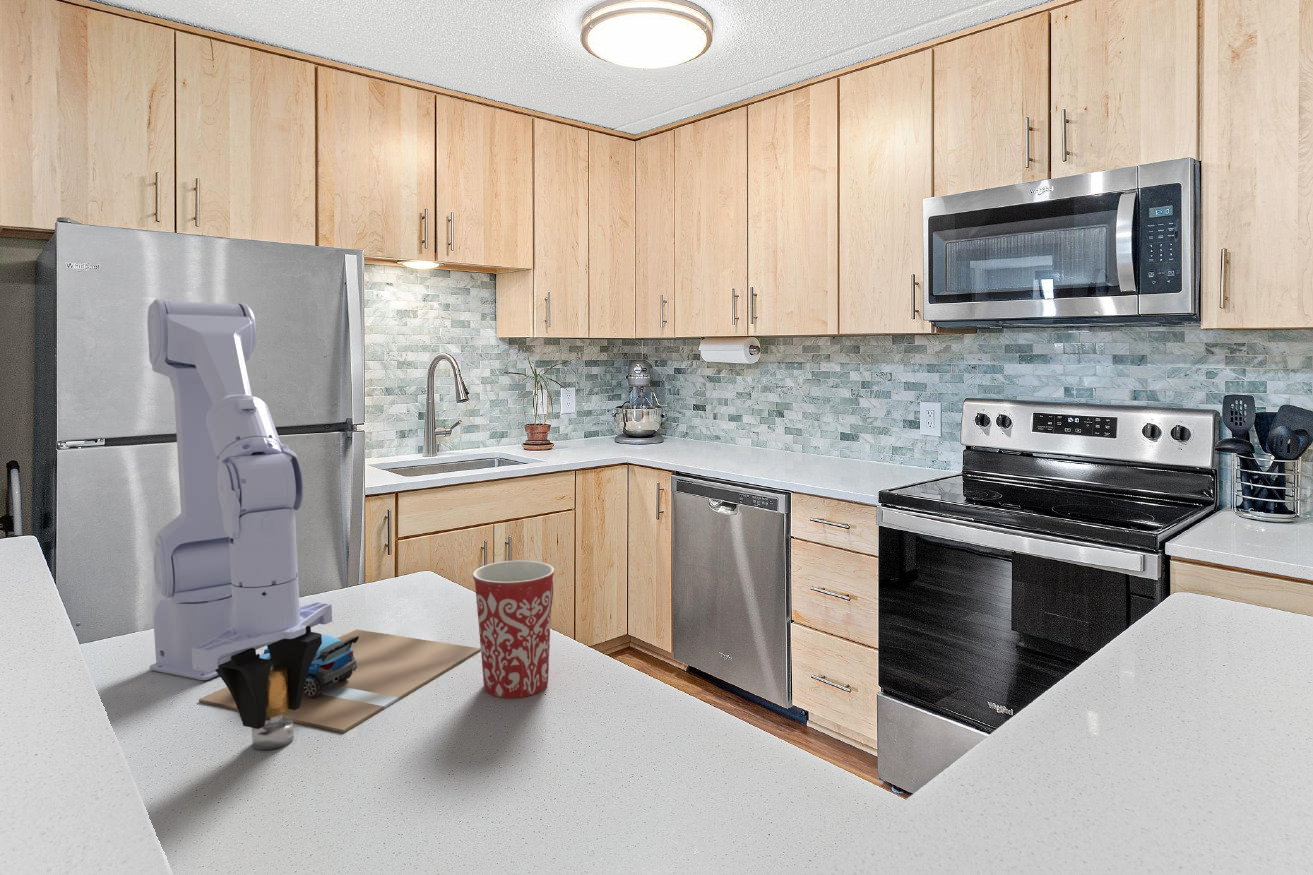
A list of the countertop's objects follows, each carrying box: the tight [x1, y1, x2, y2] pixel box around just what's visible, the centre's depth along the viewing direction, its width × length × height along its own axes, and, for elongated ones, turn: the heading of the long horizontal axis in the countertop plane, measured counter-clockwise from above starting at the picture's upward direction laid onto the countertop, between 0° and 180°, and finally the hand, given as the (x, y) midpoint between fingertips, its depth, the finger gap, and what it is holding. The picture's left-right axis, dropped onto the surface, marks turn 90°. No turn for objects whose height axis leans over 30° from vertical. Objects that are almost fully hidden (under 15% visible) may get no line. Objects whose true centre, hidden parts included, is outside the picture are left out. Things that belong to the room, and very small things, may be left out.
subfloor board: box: [198, 629, 481, 734], centre depth 93 cm, size 20×24×1 cm
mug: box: [472, 560, 556, 699], centre depth 91 cm, size 13×9×14 cm
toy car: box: [260, 633, 359, 698], centre depth 89 cm, size 6×12×6 cm, turn 73°
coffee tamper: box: [251, 665, 295, 750], centre depth 77 cm, size 4×4×7 cm
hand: (272, 716), depth 76 cm, fingers open, 4 cm apart
